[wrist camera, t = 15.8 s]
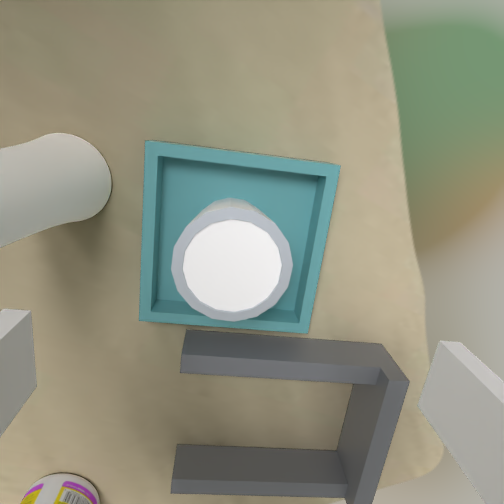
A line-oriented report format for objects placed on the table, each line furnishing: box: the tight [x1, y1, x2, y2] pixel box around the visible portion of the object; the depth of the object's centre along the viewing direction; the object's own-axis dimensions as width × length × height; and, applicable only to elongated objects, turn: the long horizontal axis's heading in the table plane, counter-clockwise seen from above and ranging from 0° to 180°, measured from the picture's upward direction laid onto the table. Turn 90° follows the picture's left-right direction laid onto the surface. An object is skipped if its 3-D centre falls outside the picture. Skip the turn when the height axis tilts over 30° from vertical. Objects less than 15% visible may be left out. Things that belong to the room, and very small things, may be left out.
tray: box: [139, 140, 341, 334], centre depth 26 cm, size 13×13×2 cm
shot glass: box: [171, 198, 293, 322], centre depth 23 cm, size 7×7×7 cm
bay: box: [171, 329, 410, 504], centre depth 30 cm, size 17×14×5 cm
